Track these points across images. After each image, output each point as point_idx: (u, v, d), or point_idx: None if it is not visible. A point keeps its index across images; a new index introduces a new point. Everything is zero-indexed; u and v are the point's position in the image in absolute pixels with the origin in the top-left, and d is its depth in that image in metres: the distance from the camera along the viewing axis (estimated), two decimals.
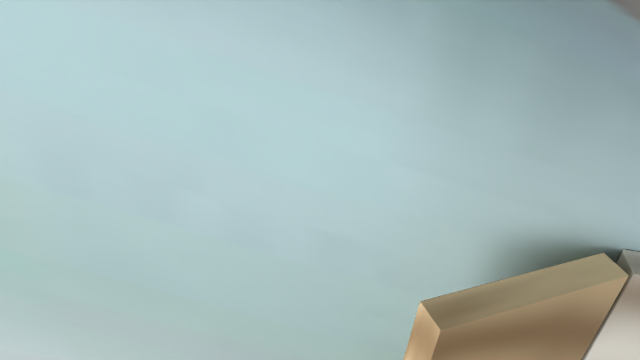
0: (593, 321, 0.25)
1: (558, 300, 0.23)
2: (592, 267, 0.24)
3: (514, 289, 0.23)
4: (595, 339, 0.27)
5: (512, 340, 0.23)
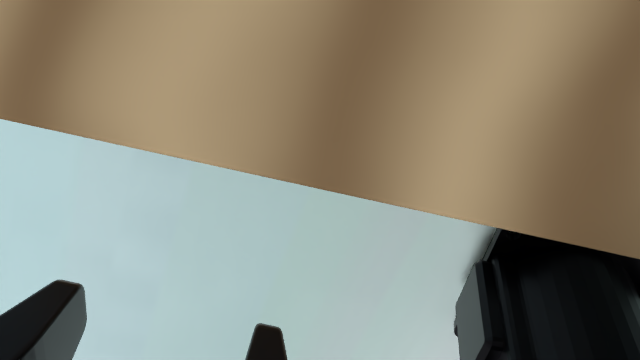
0: None
1: None
2: None
3: None
4: None
5: None
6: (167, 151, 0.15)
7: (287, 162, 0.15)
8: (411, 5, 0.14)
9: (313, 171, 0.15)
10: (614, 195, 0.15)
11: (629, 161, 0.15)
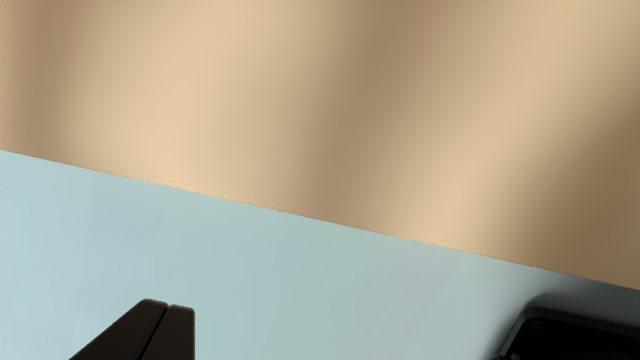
0: None
1: None
2: None
3: None
4: None
5: (60, 32, 0.14)
6: (176, 185, 0.16)
7: (286, 198, 0.16)
8: (409, 66, 0.13)
9: (311, 206, 0.16)
10: (603, 239, 0.15)
11: (625, 212, 0.15)
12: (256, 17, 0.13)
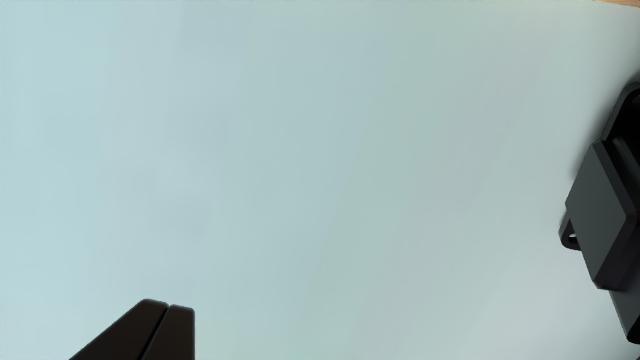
0: None
1: None
2: None
3: None
4: None
5: None
6: None
7: None
8: None
9: None
10: None
11: None
12: None
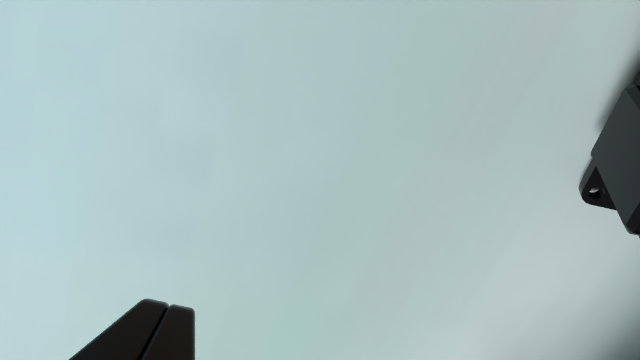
0: None
1: None
2: None
3: None
4: None
5: None
6: None
7: None
8: None
9: None
10: None
11: None
12: None
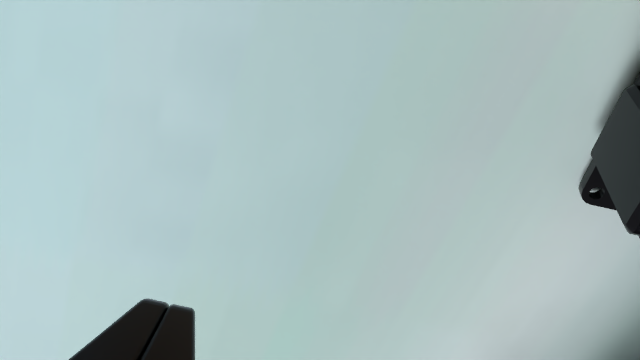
0: None
1: None
2: None
3: None
4: None
5: None
6: None
7: None
8: None
9: None
10: None
11: None
12: None
